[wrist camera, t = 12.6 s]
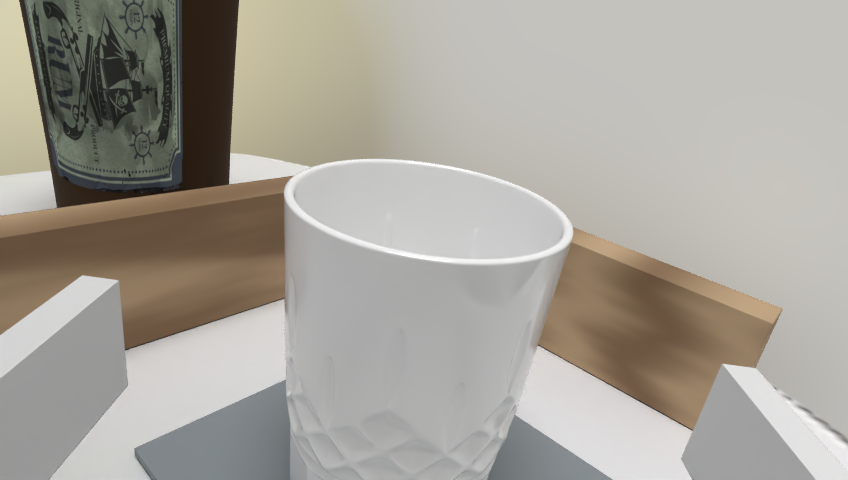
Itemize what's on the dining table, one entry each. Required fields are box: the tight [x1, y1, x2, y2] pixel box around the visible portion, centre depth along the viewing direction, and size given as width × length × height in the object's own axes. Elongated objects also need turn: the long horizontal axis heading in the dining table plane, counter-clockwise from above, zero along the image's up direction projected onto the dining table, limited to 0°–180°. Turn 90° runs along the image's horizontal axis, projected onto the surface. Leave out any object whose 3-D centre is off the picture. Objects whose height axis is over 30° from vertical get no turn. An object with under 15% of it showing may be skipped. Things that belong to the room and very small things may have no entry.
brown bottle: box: [19, 0, 239, 208], centre depth 30 cm, size 11×11×25 cm
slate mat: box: [134, 380, 612, 480], centre depth 19 cm, size 12×12×1 cm
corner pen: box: [0, 176, 782, 430], centre depth 21 cm, size 22×24×6 cm
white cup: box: [284, 159, 573, 480], centre depth 17 cm, size 8×8×10 cm
